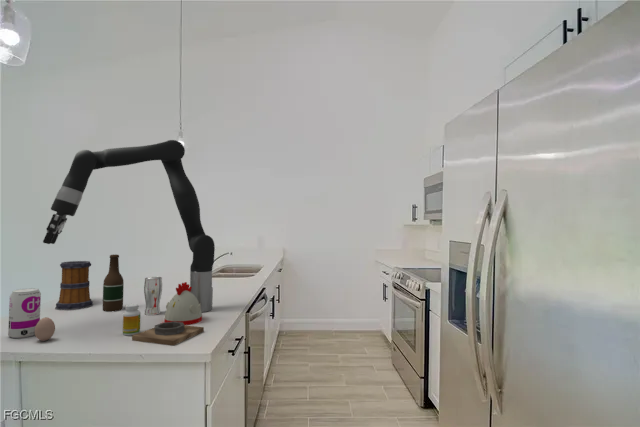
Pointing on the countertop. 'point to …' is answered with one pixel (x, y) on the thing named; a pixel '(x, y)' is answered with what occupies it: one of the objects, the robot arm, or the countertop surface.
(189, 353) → the countertop surface
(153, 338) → the socket board
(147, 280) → the beer glass
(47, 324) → the egg
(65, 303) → the mug
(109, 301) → the beer bottle
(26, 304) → the supplement can
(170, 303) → the kitchen timer
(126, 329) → the supplement bottle
